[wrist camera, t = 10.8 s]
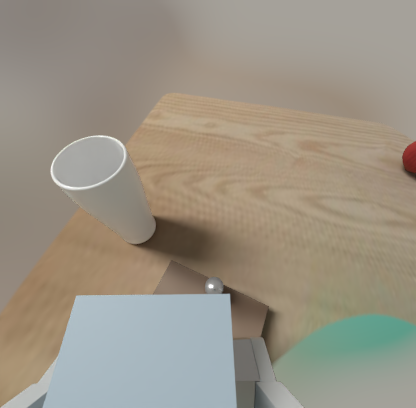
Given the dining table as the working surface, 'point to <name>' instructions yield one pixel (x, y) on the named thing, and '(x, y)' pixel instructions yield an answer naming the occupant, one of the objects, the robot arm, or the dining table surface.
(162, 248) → the dining table surface
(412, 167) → the onion
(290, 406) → the robot arm
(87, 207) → the drinking glass
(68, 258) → the dining table surface
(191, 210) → the dining table surface
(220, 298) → the block
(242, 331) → the peg board
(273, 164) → the dining table surface
